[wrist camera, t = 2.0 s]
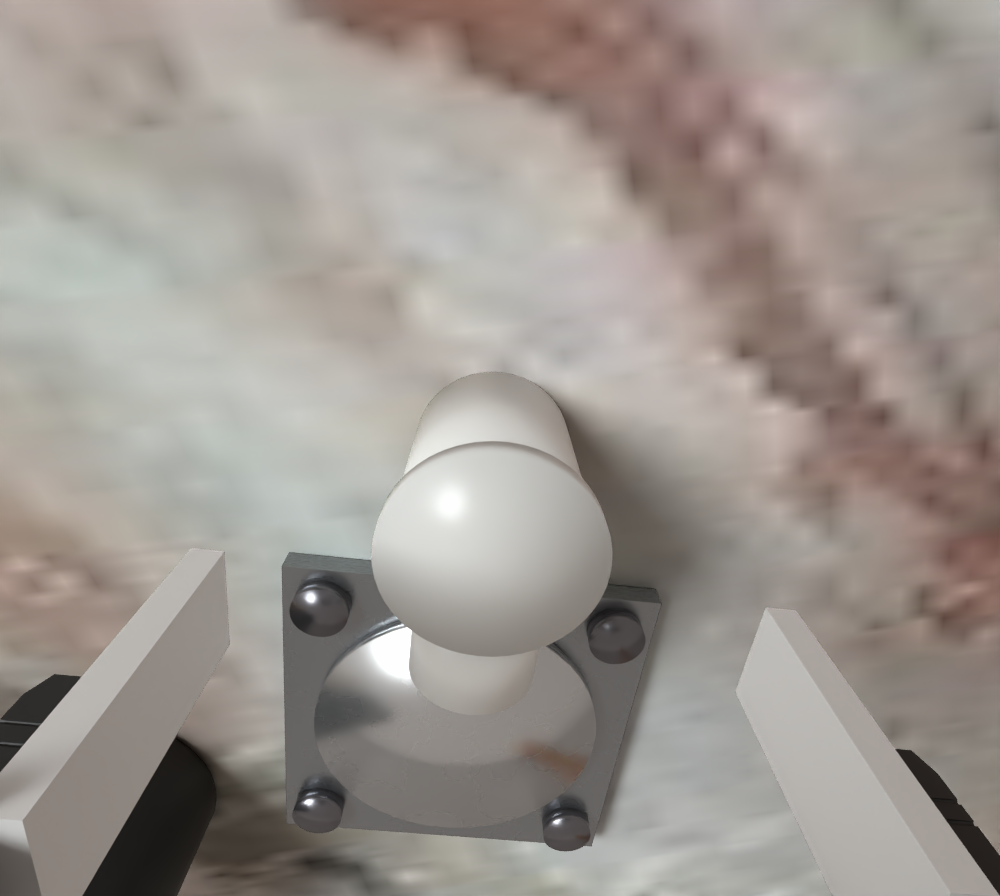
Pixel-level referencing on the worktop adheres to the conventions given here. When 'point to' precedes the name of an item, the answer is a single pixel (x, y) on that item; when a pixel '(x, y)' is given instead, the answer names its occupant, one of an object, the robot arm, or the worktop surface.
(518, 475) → the elbow
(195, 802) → the mug
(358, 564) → the duct flange
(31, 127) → the worktop surface
